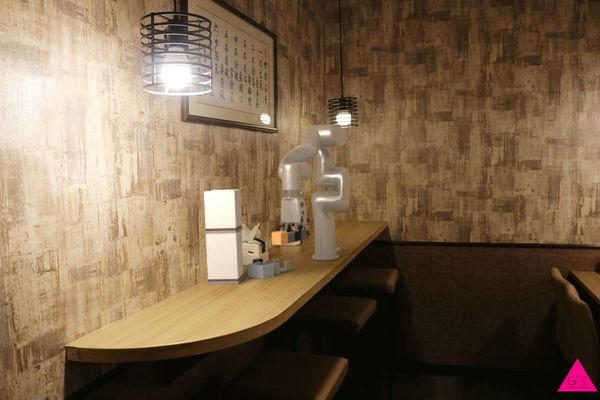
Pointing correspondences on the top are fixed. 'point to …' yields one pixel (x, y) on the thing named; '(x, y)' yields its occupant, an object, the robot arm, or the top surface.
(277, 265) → the clip
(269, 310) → the top surface
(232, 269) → the white banded pillar
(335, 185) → the robot arm
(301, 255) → the top surface
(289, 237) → the orange and grey bar
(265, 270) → the end holder
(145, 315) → the top surface
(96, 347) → the top surface
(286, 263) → the clip
